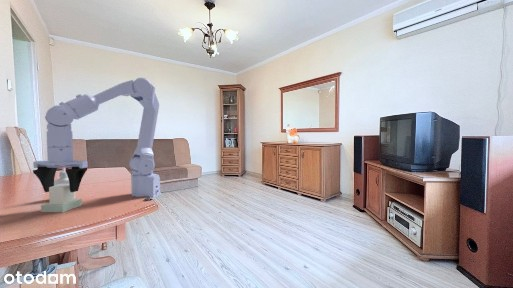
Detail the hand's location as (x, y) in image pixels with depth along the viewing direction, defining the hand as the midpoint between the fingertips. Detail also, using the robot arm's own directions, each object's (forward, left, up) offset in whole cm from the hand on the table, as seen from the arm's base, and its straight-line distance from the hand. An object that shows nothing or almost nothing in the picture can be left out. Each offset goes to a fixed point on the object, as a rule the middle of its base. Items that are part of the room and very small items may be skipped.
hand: (61, 191), depth 65 cm
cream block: (0, 0, -3) cm, 3 cm away
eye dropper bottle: (+8, -10, -7) cm, 14 cm away
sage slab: (0, 0, -5) cm, 5 cm away
